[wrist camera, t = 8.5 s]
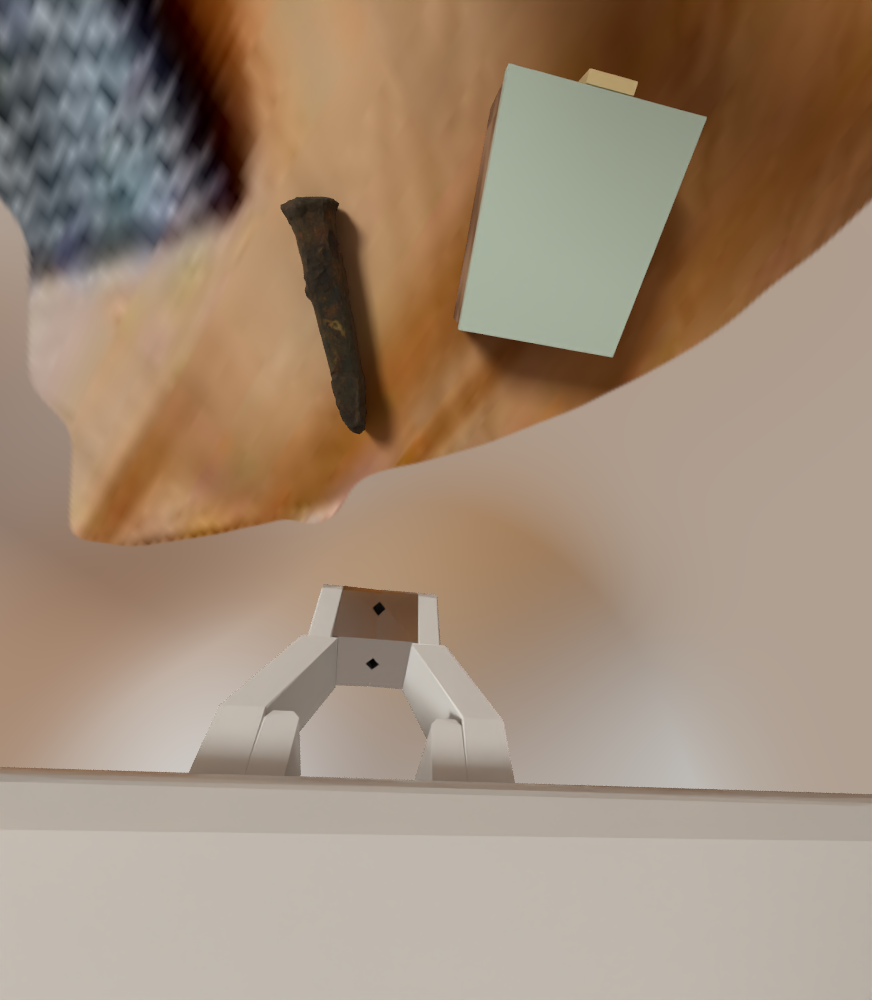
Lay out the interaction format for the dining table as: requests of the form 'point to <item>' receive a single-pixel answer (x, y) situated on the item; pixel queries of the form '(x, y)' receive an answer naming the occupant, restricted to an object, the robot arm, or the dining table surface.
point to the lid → (572, 208)
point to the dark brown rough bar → (330, 301)
